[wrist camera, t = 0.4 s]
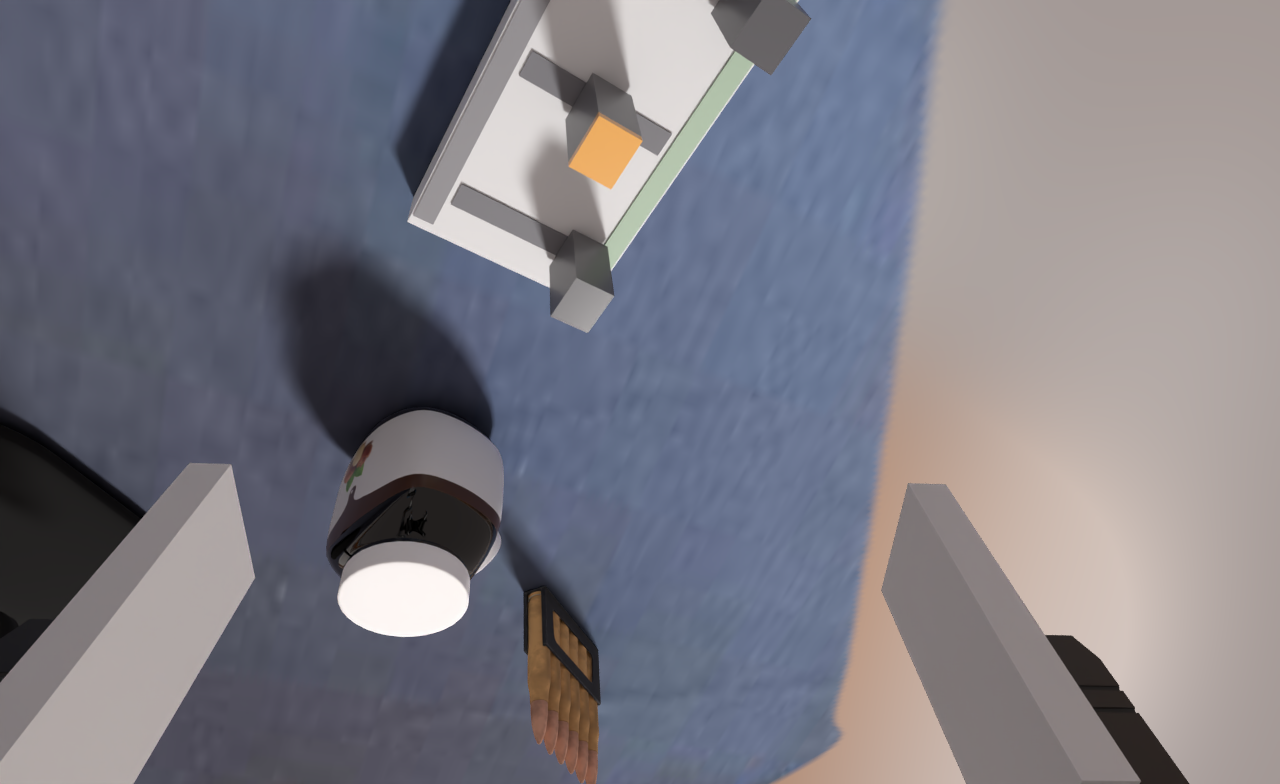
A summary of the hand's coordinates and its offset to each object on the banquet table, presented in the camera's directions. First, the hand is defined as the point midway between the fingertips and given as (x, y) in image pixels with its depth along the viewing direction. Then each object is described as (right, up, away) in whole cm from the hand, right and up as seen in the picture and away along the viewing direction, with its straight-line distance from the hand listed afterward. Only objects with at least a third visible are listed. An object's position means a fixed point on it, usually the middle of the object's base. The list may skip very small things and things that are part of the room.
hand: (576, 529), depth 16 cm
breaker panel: (-1, +17, +22) cm, 28 cm away
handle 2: (+6, +19, +17) cm, 26 cm away
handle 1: (-2, +10, +24) cm, 26 cm away
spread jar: (-12, -2, +37) cm, 39 cm away
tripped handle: (-1, +15, +20) cm, 25 cm away
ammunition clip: (-5, -16, +50) cm, 53 cm away
